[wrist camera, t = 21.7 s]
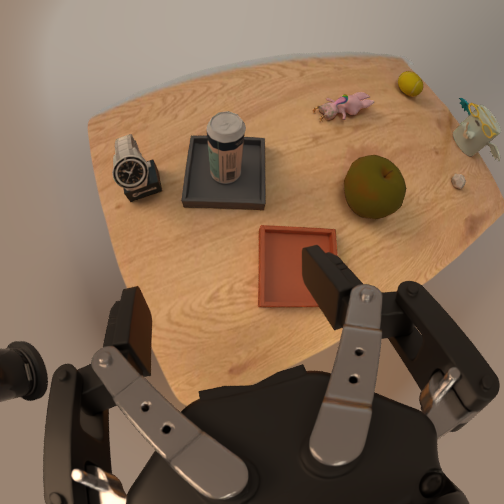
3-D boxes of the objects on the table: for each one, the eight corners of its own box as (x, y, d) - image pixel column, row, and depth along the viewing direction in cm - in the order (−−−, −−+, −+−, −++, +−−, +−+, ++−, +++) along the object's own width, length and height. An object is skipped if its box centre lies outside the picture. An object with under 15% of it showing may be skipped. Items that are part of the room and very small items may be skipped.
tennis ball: (389, 84, 54) (400, 67, 47) (402, 81, 55) (412, 66, 48) (407, 102, 53) (419, 85, 46) (419, 99, 54) (431, 83, 47)
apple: (393, 208, 44) (429, 181, 33) (363, 239, 41) (399, 214, 31) (357, 166, 45) (385, 131, 34) (323, 192, 43) (348, 156, 32)
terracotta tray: (258, 307, 37) (260, 306, 35) (258, 230, 40) (260, 225, 38) (333, 306, 38) (339, 305, 36) (330, 233, 41) (335, 229, 39)
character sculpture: (432, 113, 53) (457, 84, 40) (452, 115, 55) (475, 89, 42) (470, 177, 49) (503, 153, 36) (486, 173, 51) (516, 151, 38)
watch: (132, 212, 39) (106, 179, 29) (125, 171, 41) (103, 133, 30) (165, 201, 40) (147, 163, 30) (156, 161, 42) (140, 119, 31)
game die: (451, 188, 47) (459, 183, 44) (448, 175, 48) (456, 169, 45) (461, 192, 47) (468, 187, 44) (457, 179, 48) (465, 173, 45)
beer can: (246, 166, 42) (252, 116, 30) (233, 189, 41) (235, 142, 29) (219, 155, 42) (217, 105, 30) (205, 178, 41) (198, 129, 29)
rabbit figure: (323, 132, 48) (378, 113, 48) (329, 114, 42) (386, 96, 42) (306, 111, 49) (361, 94, 49) (309, 92, 43) (367, 76, 43)
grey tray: (183, 207, 40) (181, 201, 38) (192, 143, 43) (190, 135, 41) (263, 210, 41) (265, 203, 39) (263, 145, 44) (264, 137, 42)
